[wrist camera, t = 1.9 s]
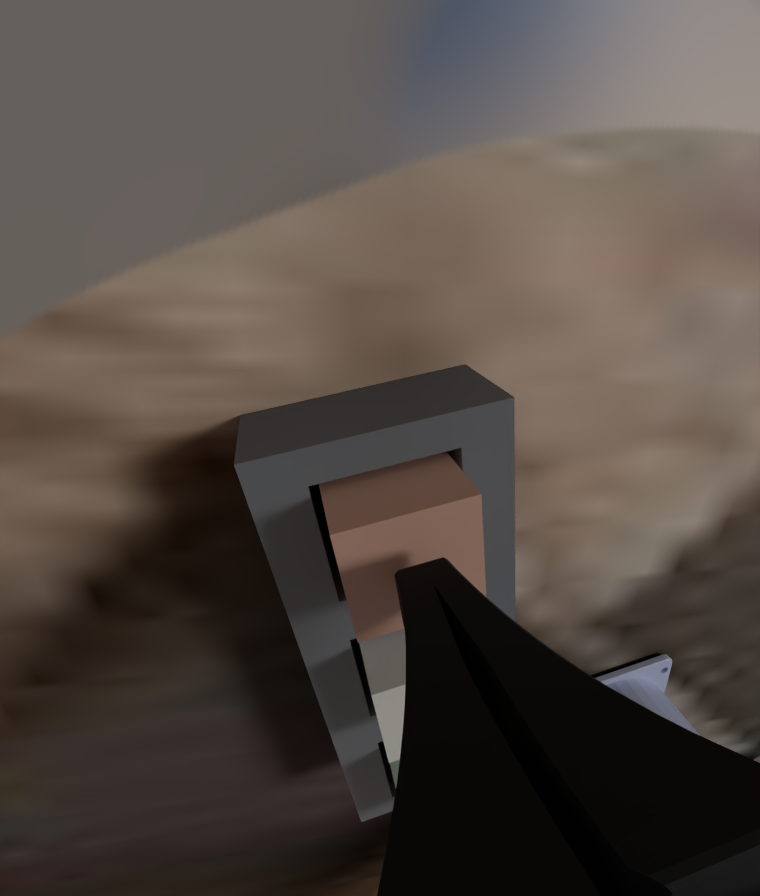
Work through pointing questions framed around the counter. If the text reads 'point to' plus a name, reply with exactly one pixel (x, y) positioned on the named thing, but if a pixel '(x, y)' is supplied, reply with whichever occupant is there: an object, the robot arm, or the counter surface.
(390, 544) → the brown cube
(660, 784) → the robot arm
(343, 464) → the keypad
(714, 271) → the counter surface
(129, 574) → the counter surface
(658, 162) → the counter surface
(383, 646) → the cream cube
